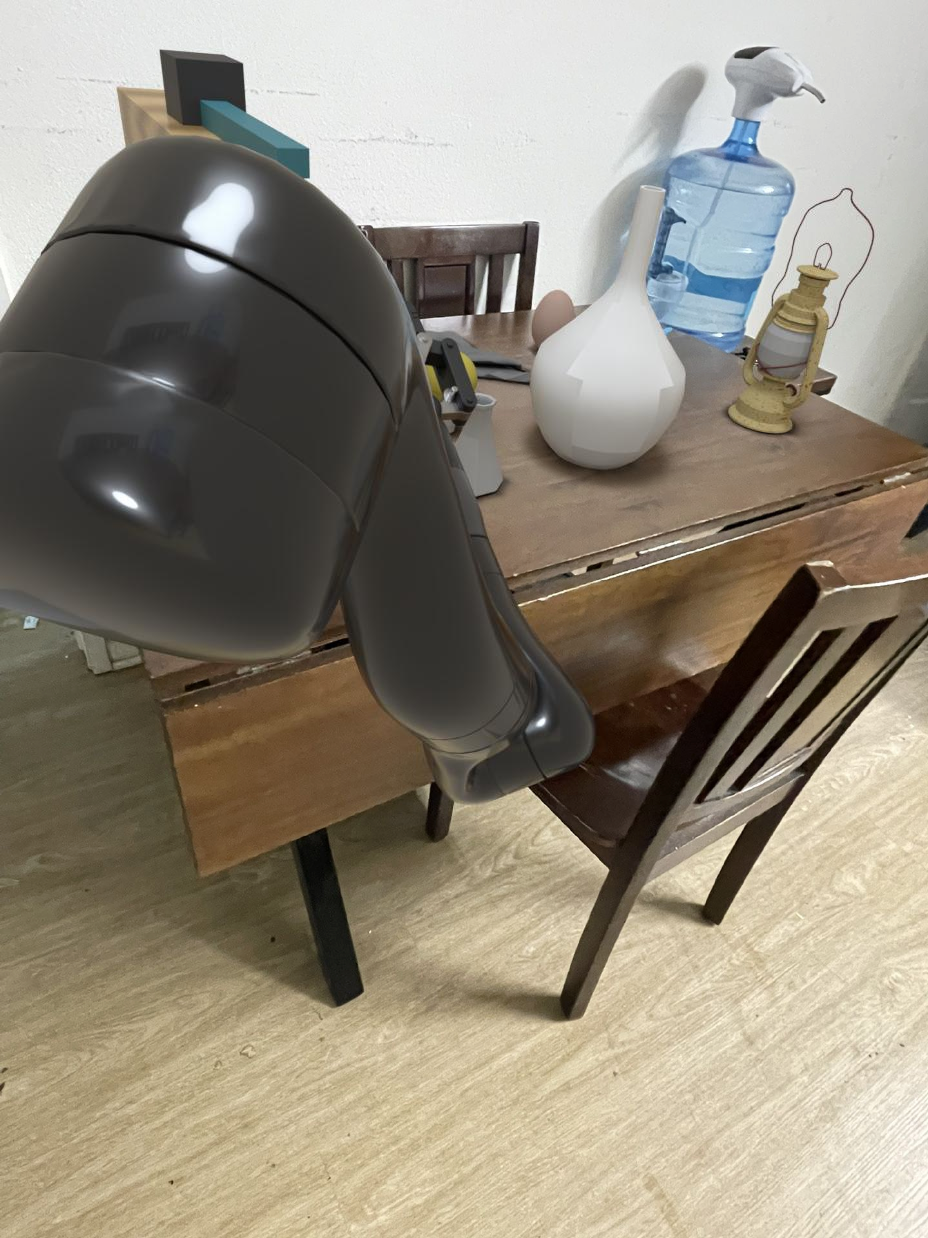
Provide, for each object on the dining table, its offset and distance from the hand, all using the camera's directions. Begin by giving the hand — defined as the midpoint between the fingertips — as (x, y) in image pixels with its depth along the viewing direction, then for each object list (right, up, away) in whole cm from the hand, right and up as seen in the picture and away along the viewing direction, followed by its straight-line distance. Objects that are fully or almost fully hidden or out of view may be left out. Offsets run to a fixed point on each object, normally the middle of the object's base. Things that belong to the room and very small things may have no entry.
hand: (339, 304), depth 54 cm
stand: (-21, +5, +41) cm, 47 cm away
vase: (+25, -1, +42) cm, 49 cm away
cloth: (+8, +17, +61) cm, 64 cm away
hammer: (-11, +19, +12) cm, 25 cm away
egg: (+22, +20, +67) cm, 74 cm away
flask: (+10, -7, +33) cm, 35 cm away
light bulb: (+6, +2, +43) cm, 43 cm away
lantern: (+52, +6, +56) cm, 77 cm away
